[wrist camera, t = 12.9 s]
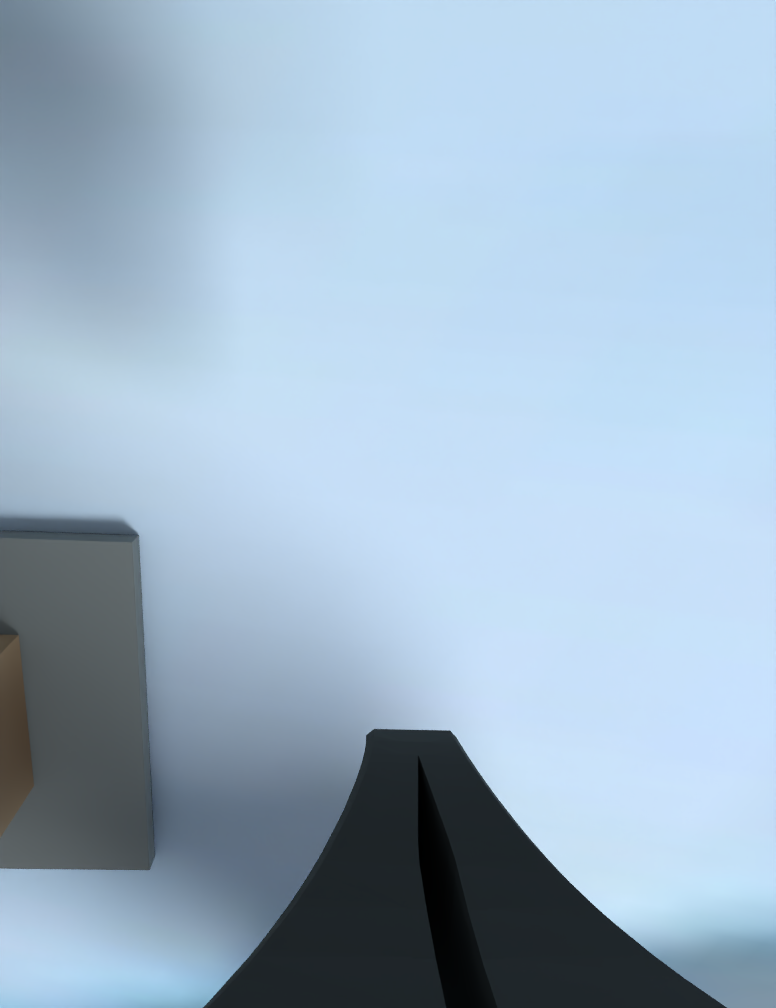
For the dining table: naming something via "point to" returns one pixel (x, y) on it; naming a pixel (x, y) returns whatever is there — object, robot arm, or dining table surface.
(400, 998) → the robot arm
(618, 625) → the dining table surface
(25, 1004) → the dining table surface
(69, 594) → the mat
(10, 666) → the slab
